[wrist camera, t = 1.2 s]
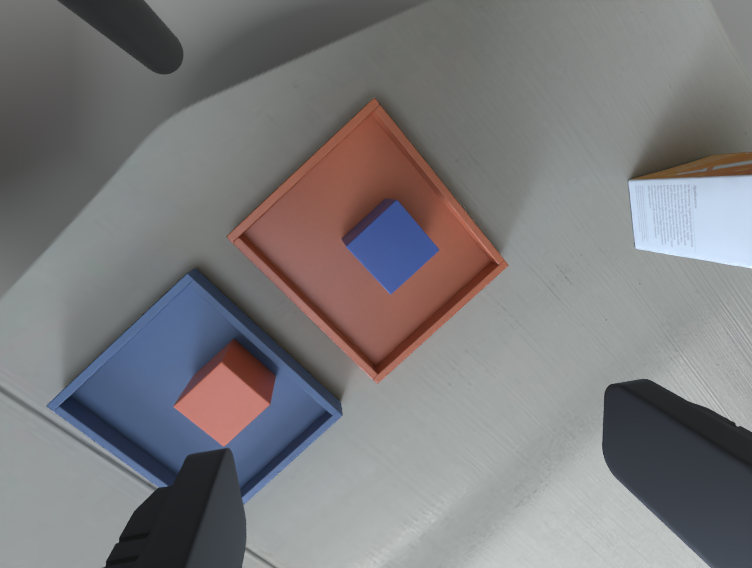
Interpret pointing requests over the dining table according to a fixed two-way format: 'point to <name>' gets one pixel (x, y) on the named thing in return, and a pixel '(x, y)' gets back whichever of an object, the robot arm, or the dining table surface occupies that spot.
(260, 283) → the dining table surface
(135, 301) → the dining table surface
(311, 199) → the clay tray
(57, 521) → the dining table surface
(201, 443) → the blue tray
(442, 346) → the dining table surface
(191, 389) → the clay block
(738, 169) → the small box
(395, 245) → the blue block
